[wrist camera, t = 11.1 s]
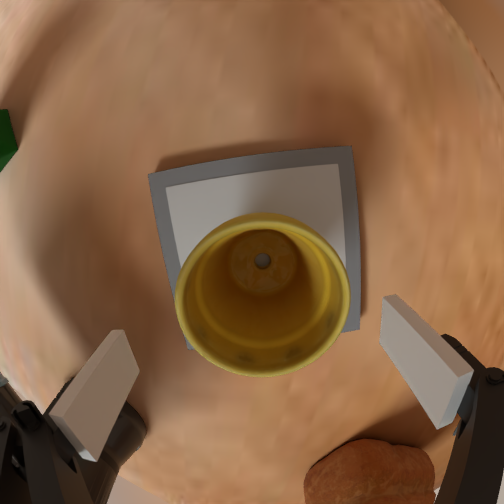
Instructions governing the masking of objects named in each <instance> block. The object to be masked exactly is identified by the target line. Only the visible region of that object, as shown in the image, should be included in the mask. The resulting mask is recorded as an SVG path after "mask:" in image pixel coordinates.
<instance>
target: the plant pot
mask: <svg viewBox="0 0 504 504" xmlns="http://www.w3.org/2000/svg"><path fill="white" fill-rule="evenodd" d="M262 253H264V254H267V255H268V256H269V258H270V262H269V264H268V265H266V266H263V267H261V266H258V265H257V264H256V262H255V259H256V257H257V256H258V255H259V254H262ZM350 303H351V289H350V282H349V278H348V274H347V271H346V269H345V266H344V264H343V262H342V260H341V259H340V257H339V255H338V254H337V252H336V251H335V250H334V248H333V247H332V246H331V245H330V244H329V243H328V242H327V241H326V240H325V239H324V238H323V237H322V236H321V235H320V234H319V233H318V232H316V231H315V230H314V229H312V228H311V227H309V226H308V225H306V224H305V223H303V222H301V221H299V220H297V219H294V218H292V217H289V216H286V215H282V214H277V213H267V212H260V213H250V214H245V215H241V216H238V217H235V218H232V219H230V220H228V221H226V222H224V223H222V224H221V225H219V226H218V227H216V228H215V229H213V230H212V231H211V232H210V233H208V234H207V235H206V236H205V237H204V238H203V239H202V240H201V241H200V242H199V243H198V244H197V245H196V247H195V248H194V249H193V250H192V251H191V253H190V254H189V256H188V257H187V259H186V260H185V262H184V264H183V266H182V268H181V270H180V273H179V275H178V279H177V283H176V288H175V309H176V314H177V318H178V321H179V324H180V327H181V329H182V331H183V333H184V335H185V337H186V338H187V340H188V341H189V342H190V344H191V345H192V346H193V347H194V349H195V350H196V351H197V352H198V353H199V354H200V355H202V356H203V357H204V358H205V359H207V360H208V361H210V362H211V363H213V364H214V365H216V366H218V367H220V368H222V369H224V370H227V371H229V372H232V373H235V374H239V375H244V376H250V377H273V376H279V375H284V374H288V373H291V372H294V371H296V370H299V369H301V368H303V367H305V366H307V365H309V364H310V363H312V362H313V361H315V360H316V359H318V358H319V357H320V356H322V355H323V354H324V353H325V352H326V351H327V350H328V349H329V348H330V347H331V346H332V345H333V343H334V342H335V341H336V339H337V338H338V336H339V335H340V333H341V331H342V329H343V327H344V325H345V323H346V320H347V317H348V314H349V309H350Z"/></svg>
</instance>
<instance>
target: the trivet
mask: <svg viewBox="0 0 504 504" xmlns="http://www.w3.org/2000/svg"><path fill="white" fill-rule="evenodd" d="M148 178H149V184H150V190H151V196H152V202H153V207H154V213H155V218H156V223H157V228H158V233H159V238H160V243H161V247H162V252H163V256H164V261H165V265H166V270H167V274H168V278H169V282H170V286H171V290H172V294H173V298H174V302H175V288H176V283H177V279H178V275H179V273H180V270H181V268H182V266H183V264H184V262H185V260H186V259H187V257H188V256H189V254H190V253H191V251H192V250H193V249H194V248H195V247H196V245H197V244H198V243H199V242H200V241H201V240H202V239H203V238H204V237H205V236H206V235H207V234H208V233H210V232H211V231H212V230H213V229H215V228H216V227H218V226H219V225H221V224H222V223H224V222H226V221H228V220H230V219H232V218H235V217H238V216H241V215H245V214H250V213H260V212H267V213H277V214H282V215H286V216H289V217H292V218H294V219H297V220H299V221H301V222H303V223H305V224H306V225H308V226H309V227H311V228H312V229H314V230H315V231H316V232H318V233H319V234H320V235H321V236H322V237H323V238H324V239H325V240H326V241H327V242H328V243H329V244H330V245H331V246H332V247H333V248H334V250H335V251H336V252H337V254H338V255H339V257H340V259H341V260H342V262H343V264H344V266H345V269H346V271H347V274H348V278H349V282H350V289H351V303H350V309H349V314H348V317H347V320H346V323H345V325H344V327H343V329H342V331H341V333H343V332H348V331H354V330H359V329H360V304H361V261H360V232H359V215H358V201H357V189H356V179H355V169H354V161H353V152H352V146H340V147H324V148H312V149H300V150H290V151H281V152H272V153H264V154H257V155H249V156H242V157H235V158H229V159H223V160H217V161H211V162H205V163H200V164H194V165H189V166H184V167H179V168H174V169H169V170H165V171H160V172H156V173H151V174H148ZM255 262H256V264H257V265H258V266H261V267H263V266H266V265H268V264H269V262H270V258H269V256H268V255H267V254H264V253H262V254H259V255H258V256H257V257H256V259H255ZM183 334H184V333H183ZM184 338H185V341H186V344H187V348H188V350H193V349H194V347H193V346H192V345H191V344H190V342H189V341H188V340H187V338H186V337H185V335H184Z"/></svg>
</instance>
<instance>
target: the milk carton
mask: <svg viewBox="0 0 504 504" xmlns="http://www.w3.org/2000/svg"><path fill="white" fill-rule="evenodd" d="M17 150H18V147H17V144H16V140H15V137H14V133H13V130H12V126H11V122H10V118H9V114H8V110H7V109H2V110H0V172H1V171H2V170H3V168H4V167H5V166H6V164H7V163H8V162H9V160H10V159H11V158H12V156H13V155H14V154H15V153H16V152H17Z"/></svg>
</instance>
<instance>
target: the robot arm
mask: <svg viewBox="0 0 504 504" xmlns="http://www.w3.org/2000/svg"><path fill="white" fill-rule="evenodd" d="M379 343H380V344H381V346H382V347H383V349H384V350H385V352H386V353H387V354H388V356H389V357H390V359H391V360H392V362H393V363H394V365H395V366H396V368H397V369H398V370H399V372H400V373H401V375H402V376H403V378H404V379H405V381H406V382H407V384H408V385H409V387H410V388H411V390H412V391H413V393H414V394H415V396H416V398H417V399H418V401H419V402H420V404H421V405H422V407H423V408H424V410H425V412H426V413H427V415H428V416H429V418H430V419H431V421H432V423H433V424H434V426H435V428H436V429H440V428H442V427H444V426H446V425H448V424H450V423H452V422H453V420H454V418H455V416H456V414H457V413H458V414H459V416H460V417H461V420H460V422H459V424H458V426H457V427H456V429H455V431H454V433H453V435H454V436H455V435H456V438H455V442H454V445H453V449H452V453H451V456H450V460H449V463H448V466H447V470H446V473H445V476H444V479H443V482H442V484H441V487H440V490H439V493H438V495H437V498H436V500H435V503H434V504H496V503H497V499H498V495H499V490H500V486H501V481H502V476H503V470H504V371H503V370H501V369H499V368H495V367H491V368H487V369H486V368H485V367H484V366H483V365H482V364H481V363H480V362H479V361H478V360H477V359H476V358H475V357H474V356H473V355H472V354H471V353H470V352H469V351H467V349H466V348H465V347H464V346H462V344H461V343H460V342H459V341H458V340H457V339H456V338H454V337H452V336H449V335H447V334H444V335H441V336H440V335H439V334H438V333H437V332H436V331H435V330H434V329H433V328H432V327H431V326H430V325H429V324H428V323H427V322H425V321H424V320H423V319H422V318H421V317H420V316H419V315H418V314H417V313H416V312H415V311H414V310H413V309H412V308H410V307H409V306H408V305H407V304H406V303H405V302H404V301H403V300H402V299H401V298H400V297H398V296H397V295H396V294H394V295H389V296H385V297H383V300H382V317H381V330H380V342H379ZM139 372H140V370H139V367H138V365H137V363H136V360H135V358H134V355H133V353H132V350H131V348H130V345H129V342H128V340H127V337H126V334H125V332H124V329H123V330H111V332H110V333H109V334H108V335H107V337H106V338H105V339H104V340H103V342H102V343H101V344H100V345H99V347H98V348H97V349H96V350H95V352H94V353H93V354H92V356H91V357H90V358H89V359H88V361H87V362H86V363H85V365H84V366H83V367H82V369H81V370H80V371H79V373H78V374H77V375H76V377H75V378H72V379H71V380H70V381H68V382H67V383H66V384H65V385H64V386H63V388H62V389H61V390H60V392H59V393H58V394H57V396H56V398H54V400H53V401H52V403H51V404H50V405H49V407H48V408H47V410H46V411H45V412H44V414H43V415H42V414H41V413H40V411H39V410H38V408H37V407H36V405H35V404H34V403H33V402H32V401H28V400H26V401H22V400H21V399H20V398H19V396H18V395H17V394H16V392H15V391H14V390H13V388H12V387H11V386H10V384H9V383H8V382H9V381H8V380H7V378H5V377H4V376H3V375H2V374H1V372H0V504H107V501H108V498H109V495H110V492H111V490H112V487H113V485H114V482H115V480H116V477H117V474H118V472H119V469H120V467H121V466H122V465H123V464H124V463H125V462H126V461H127V460H128V459H129V458H130V457H131V456H132V454H133V453H134V452H135V451H137V450H138V449H139V448H140V447H141V445H142V443H143V441H144V438H145V435H146V427H145V424H144V422H143V420H142V419H141V417H140V416H139V414H138V413H137V412H136V411H135V410H134V409H133V408H132V407H131V406H130V405H129V404H128V403H127V402H126V399H127V396H128V394H129V392H130V390H131V388H132V386H133V384H134V382H135V380H136V378H137V376H138V374H139Z"/></svg>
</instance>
